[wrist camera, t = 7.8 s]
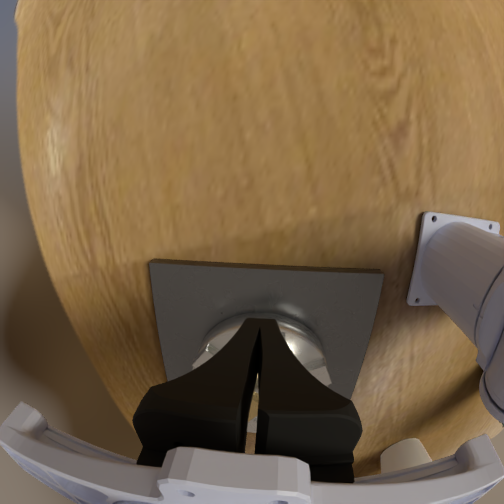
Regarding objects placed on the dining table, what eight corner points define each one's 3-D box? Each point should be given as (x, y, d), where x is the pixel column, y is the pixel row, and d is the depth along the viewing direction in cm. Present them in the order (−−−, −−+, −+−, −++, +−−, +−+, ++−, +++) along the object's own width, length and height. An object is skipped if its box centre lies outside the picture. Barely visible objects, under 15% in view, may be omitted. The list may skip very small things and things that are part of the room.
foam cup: (435, 423, 26) (464, 493, 14) (422, 453, 29) (442, 514, 17) (372, 444, 28) (389, 524, 15) (367, 471, 30) (379, 537, 18)
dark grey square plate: (380, 269, 21) (384, 274, 20) (339, 419, 26) (340, 426, 25) (154, 258, 22) (148, 263, 21) (178, 409, 27) (175, 416, 26)
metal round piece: (248, 285, 21) (235, 346, 14) (350, 356, 22) (370, 420, 15) (159, 387, 25) (134, 441, 18) (247, 434, 26) (240, 489, 19)
